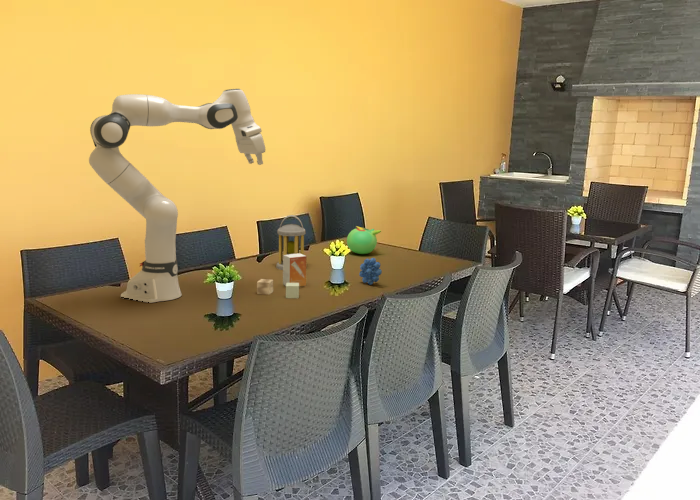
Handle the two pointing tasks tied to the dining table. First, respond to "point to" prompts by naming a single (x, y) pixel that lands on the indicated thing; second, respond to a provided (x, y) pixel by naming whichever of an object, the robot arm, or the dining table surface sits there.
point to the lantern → (290, 246)
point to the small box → (294, 269)
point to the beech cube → (265, 286)
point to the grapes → (370, 271)
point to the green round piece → (362, 240)
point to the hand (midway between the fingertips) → (256, 163)
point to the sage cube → (292, 290)
